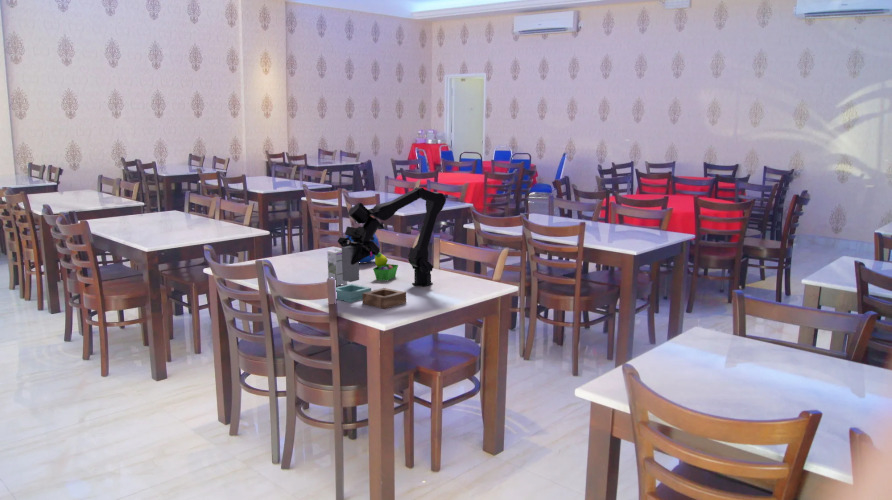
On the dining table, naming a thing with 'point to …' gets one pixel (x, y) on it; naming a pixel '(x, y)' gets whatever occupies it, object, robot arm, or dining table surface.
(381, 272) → the fruit basket
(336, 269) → the syrup box
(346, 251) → the square axle
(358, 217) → the robot arm
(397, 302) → the bore block
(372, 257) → the ceramic pot
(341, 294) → the cradle
